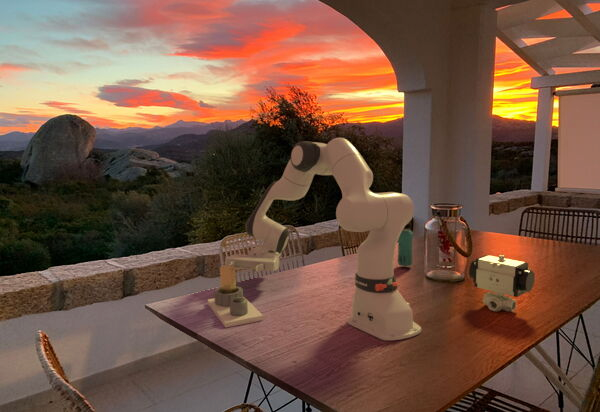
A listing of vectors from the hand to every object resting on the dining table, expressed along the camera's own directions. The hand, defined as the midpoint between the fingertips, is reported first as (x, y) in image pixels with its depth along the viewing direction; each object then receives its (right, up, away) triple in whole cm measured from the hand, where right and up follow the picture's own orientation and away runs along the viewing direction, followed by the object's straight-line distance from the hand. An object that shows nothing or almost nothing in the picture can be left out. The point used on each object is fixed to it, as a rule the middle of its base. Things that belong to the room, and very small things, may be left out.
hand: (242, 268), depth 151 cm
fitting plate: (-1, -12, -14) cm, 18 cm away
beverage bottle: (+67, -5, +34) cm, 75 cm away
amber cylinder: (-3, -10, -9) cm, 14 cm away
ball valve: (+85, -11, -14) cm, 87 cm away
